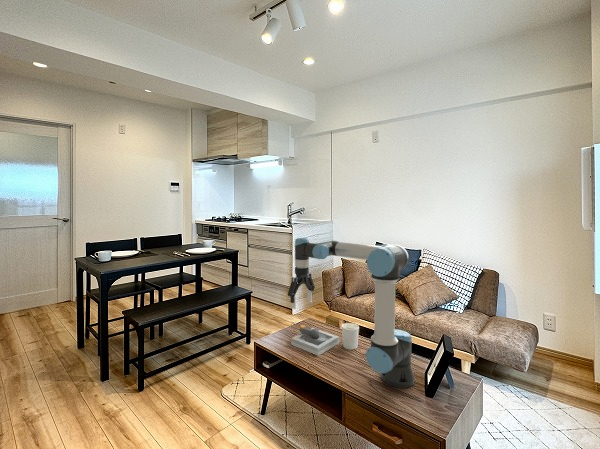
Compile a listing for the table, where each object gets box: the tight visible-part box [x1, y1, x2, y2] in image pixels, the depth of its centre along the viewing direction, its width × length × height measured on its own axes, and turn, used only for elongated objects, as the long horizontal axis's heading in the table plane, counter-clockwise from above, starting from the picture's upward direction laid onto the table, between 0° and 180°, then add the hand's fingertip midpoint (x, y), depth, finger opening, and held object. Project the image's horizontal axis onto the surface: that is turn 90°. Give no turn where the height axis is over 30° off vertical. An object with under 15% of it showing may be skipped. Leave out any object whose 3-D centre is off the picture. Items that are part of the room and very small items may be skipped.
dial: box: [299, 324, 326, 345], centre depth 188 cm, size 18×13×6 cm
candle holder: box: [341, 322, 360, 350], centre depth 184 cm, size 10×10×12 cm
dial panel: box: [290, 327, 340, 356], centre depth 187 cm, size 20×20×4 cm
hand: (301, 305), depth 173 cm, fingers open, 13 cm apart
